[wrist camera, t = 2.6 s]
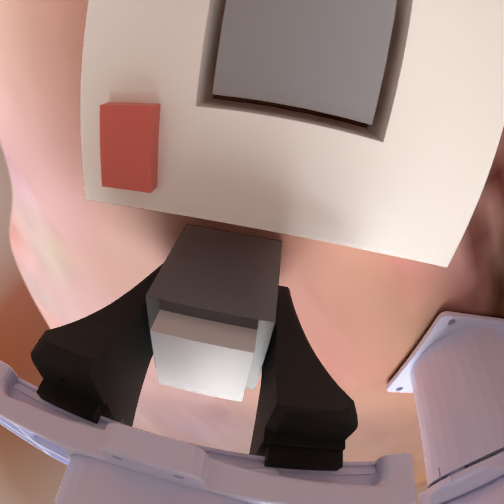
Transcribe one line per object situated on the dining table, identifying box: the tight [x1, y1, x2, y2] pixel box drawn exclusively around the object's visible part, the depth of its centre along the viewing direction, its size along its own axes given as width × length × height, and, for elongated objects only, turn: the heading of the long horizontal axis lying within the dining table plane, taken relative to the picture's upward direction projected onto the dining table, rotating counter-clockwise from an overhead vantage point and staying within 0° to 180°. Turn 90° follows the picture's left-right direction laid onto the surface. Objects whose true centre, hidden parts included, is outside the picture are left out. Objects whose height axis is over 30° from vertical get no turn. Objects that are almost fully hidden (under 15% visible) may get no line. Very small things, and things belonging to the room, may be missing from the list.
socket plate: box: [80, 0, 504, 267], centre depth 8 cm, size 15×14×3 cm
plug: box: [146, 224, 282, 402], centre depth 13 cm, size 4×4×6 cm
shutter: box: [212, 0, 397, 125], centre depth 8 cm, size 5×5×1 cm
